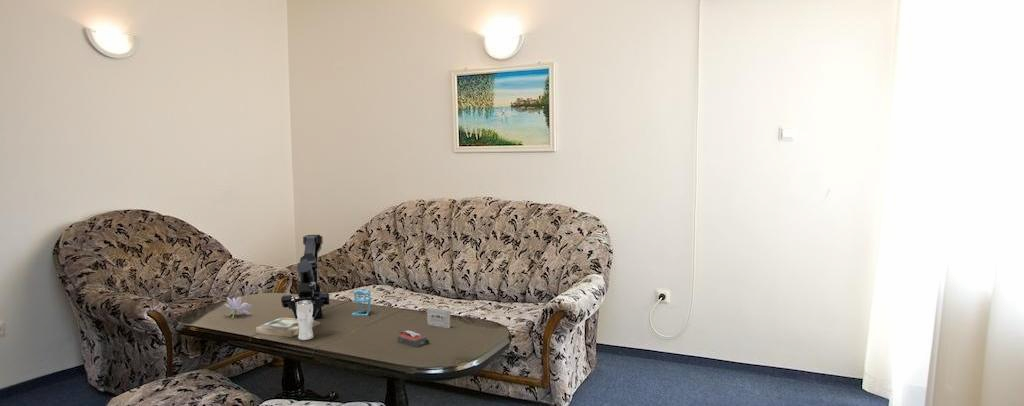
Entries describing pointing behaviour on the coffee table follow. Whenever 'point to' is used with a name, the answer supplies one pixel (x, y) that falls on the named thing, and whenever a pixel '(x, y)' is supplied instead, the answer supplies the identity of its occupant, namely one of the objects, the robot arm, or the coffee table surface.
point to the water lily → (238, 306)
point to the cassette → (435, 321)
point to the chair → (362, 299)
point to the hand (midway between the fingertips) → (305, 318)
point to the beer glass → (305, 319)
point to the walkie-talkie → (412, 339)
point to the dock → (281, 327)
